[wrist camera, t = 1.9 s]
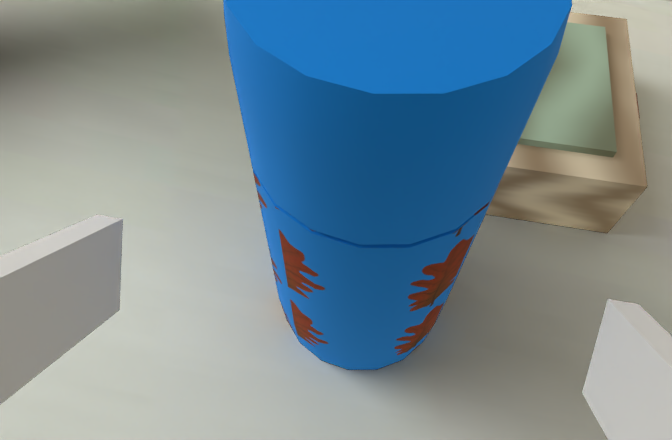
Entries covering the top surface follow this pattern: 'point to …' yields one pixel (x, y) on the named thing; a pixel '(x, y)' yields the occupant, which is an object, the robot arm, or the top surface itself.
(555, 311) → the top surface
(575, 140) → the wooden box
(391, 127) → the thermos
